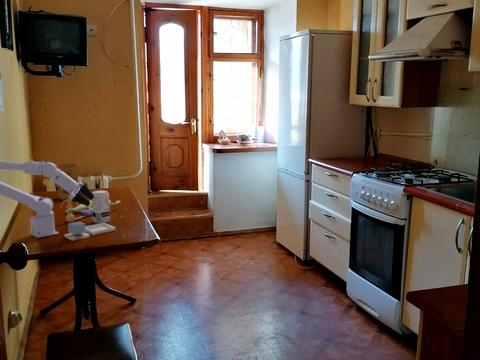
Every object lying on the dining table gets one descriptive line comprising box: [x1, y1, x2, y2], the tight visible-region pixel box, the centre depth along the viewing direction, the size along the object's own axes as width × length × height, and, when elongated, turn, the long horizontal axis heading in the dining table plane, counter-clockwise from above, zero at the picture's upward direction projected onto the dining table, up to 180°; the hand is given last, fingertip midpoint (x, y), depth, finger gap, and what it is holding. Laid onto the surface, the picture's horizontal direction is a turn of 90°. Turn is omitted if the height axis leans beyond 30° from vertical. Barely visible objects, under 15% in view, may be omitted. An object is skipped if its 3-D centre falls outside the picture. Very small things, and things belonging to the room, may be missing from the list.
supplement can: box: [91, 190, 111, 224], centre depth 225 cm, size 8×8×15 cm
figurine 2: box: [65, 199, 121, 216], centre depth 249 cm, size 18×27×6 cm
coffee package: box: [56, 161, 79, 201], centre depth 280 cm, size 10×12×22 cm
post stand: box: [63, 232, 91, 242], centre depth 200 cm, size 8×8×5 cm
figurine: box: [60, 197, 79, 223], centre depth 225 cm, size 8×6×12 cm
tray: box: [85, 222, 116, 236], centre depth 210 cm, size 11×11×2 cm
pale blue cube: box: [67, 221, 86, 235], centre depth 200 cm, size 5×6×4 cm
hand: (91, 201), depth 207 cm, fingers open, 7 cm apart
